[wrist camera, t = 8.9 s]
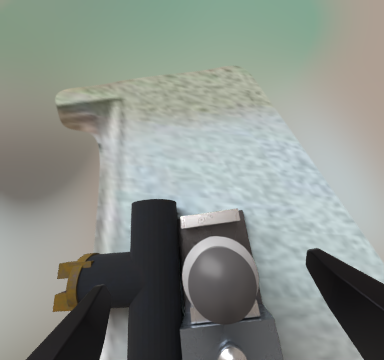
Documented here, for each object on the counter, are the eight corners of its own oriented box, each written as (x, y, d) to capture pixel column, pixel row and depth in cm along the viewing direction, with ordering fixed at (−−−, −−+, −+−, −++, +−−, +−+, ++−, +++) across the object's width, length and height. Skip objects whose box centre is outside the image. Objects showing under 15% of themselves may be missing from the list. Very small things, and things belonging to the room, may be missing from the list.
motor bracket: (273, 362, 17) (297, 407, 13) (191, 370, 18) (185, 416, 13) (241, 210, 22) (250, 203, 17) (176, 219, 22) (167, 215, 18)
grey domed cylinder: (245, 273, 19) (286, 318, 9) (203, 290, 19) (195, 355, 9) (226, 230, 21) (243, 224, 10) (188, 245, 21) (165, 254, 10)
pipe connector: (34, 397, 14) (62, 206, 19) (79, 354, 19) (93, 213, 24) (179, 391, 14) (171, 197, 18) (186, 349, 19) (179, 205, 23)
